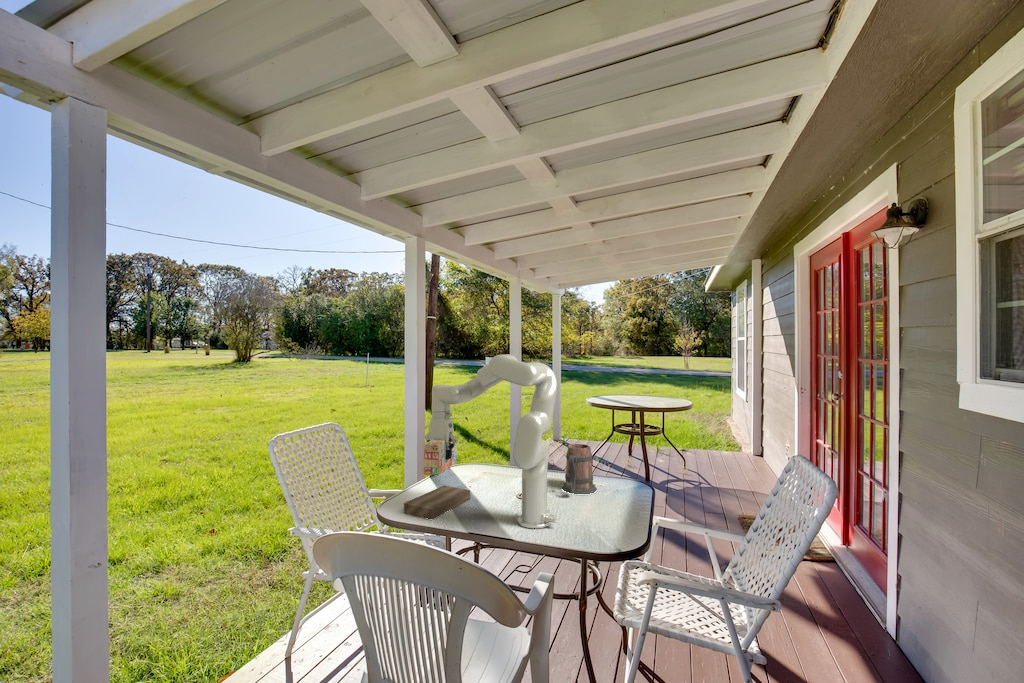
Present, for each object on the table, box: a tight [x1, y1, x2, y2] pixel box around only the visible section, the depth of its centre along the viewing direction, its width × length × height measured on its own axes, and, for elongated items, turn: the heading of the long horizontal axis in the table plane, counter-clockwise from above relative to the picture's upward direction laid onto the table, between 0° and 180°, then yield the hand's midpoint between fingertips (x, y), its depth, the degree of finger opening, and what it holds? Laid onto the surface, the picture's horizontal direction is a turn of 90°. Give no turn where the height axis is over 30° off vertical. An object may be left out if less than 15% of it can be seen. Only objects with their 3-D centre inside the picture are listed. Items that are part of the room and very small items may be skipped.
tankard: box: [561, 443, 598, 494], centre depth 209 cm, size 24×17×20 cm
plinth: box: [403, 485, 471, 520], centre depth 189 cm, size 14×26×4 cm, turn 151°
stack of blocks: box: [423, 439, 458, 476], centre depth 190 cm, size 21×6×12 cm, turn 167°
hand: (440, 457), depth 189 cm, fingers closed on stack of blocks, 7 cm apart
